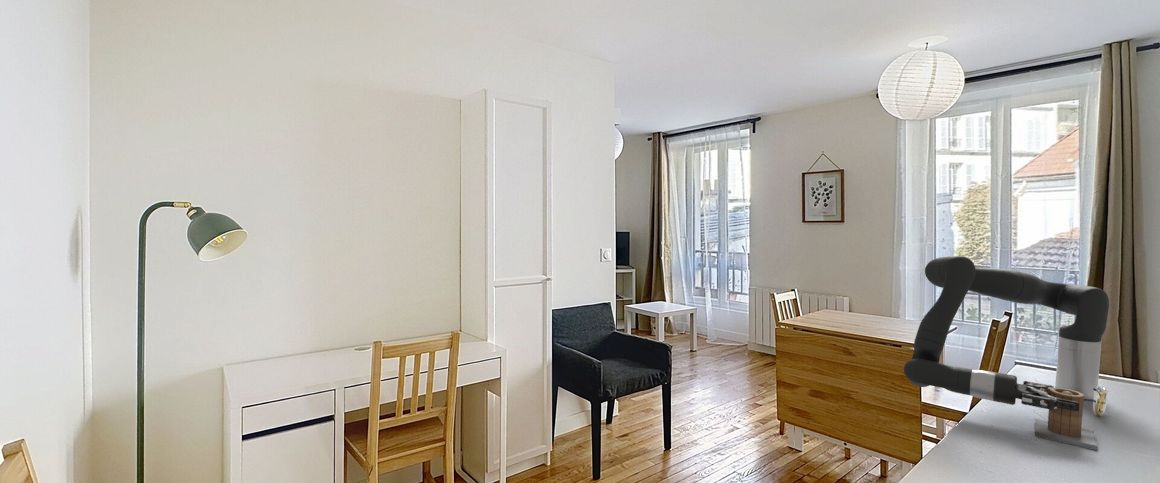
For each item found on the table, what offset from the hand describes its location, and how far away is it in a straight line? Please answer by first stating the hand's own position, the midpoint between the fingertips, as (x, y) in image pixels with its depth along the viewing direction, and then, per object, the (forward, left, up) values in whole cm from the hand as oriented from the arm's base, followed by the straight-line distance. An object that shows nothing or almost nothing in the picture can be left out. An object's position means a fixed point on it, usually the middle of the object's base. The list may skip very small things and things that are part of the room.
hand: (1078, 402), depth 126 cm
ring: (-24, +5, -9) cm, 26 cm away
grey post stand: (0, -2, -9) cm, 9 cm away
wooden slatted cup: (0, -2, -8) cm, 8 cm away
